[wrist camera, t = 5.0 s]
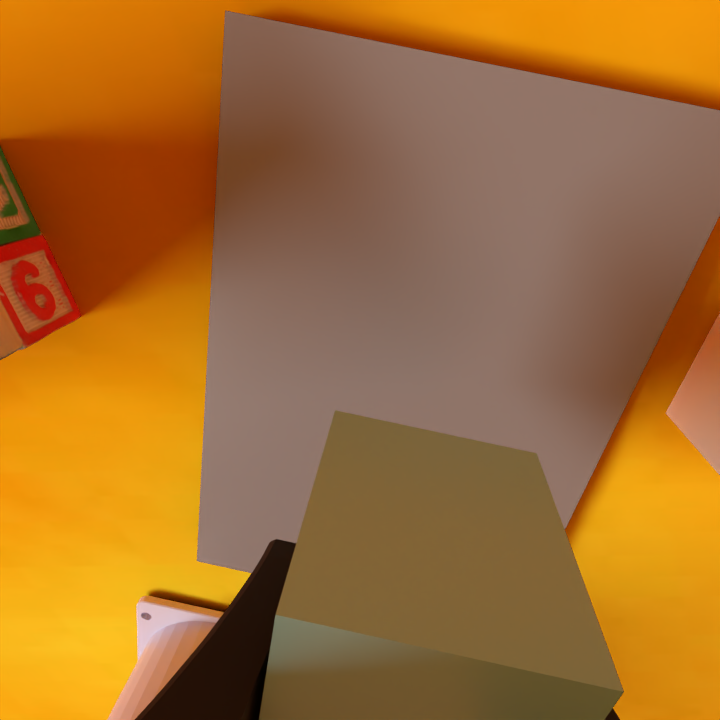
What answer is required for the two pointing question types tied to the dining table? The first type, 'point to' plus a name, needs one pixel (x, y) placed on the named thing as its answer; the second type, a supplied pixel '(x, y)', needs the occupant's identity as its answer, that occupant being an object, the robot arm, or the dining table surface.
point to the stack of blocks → (27, 274)
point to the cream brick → (701, 400)
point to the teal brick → (433, 589)
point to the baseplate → (430, 261)
